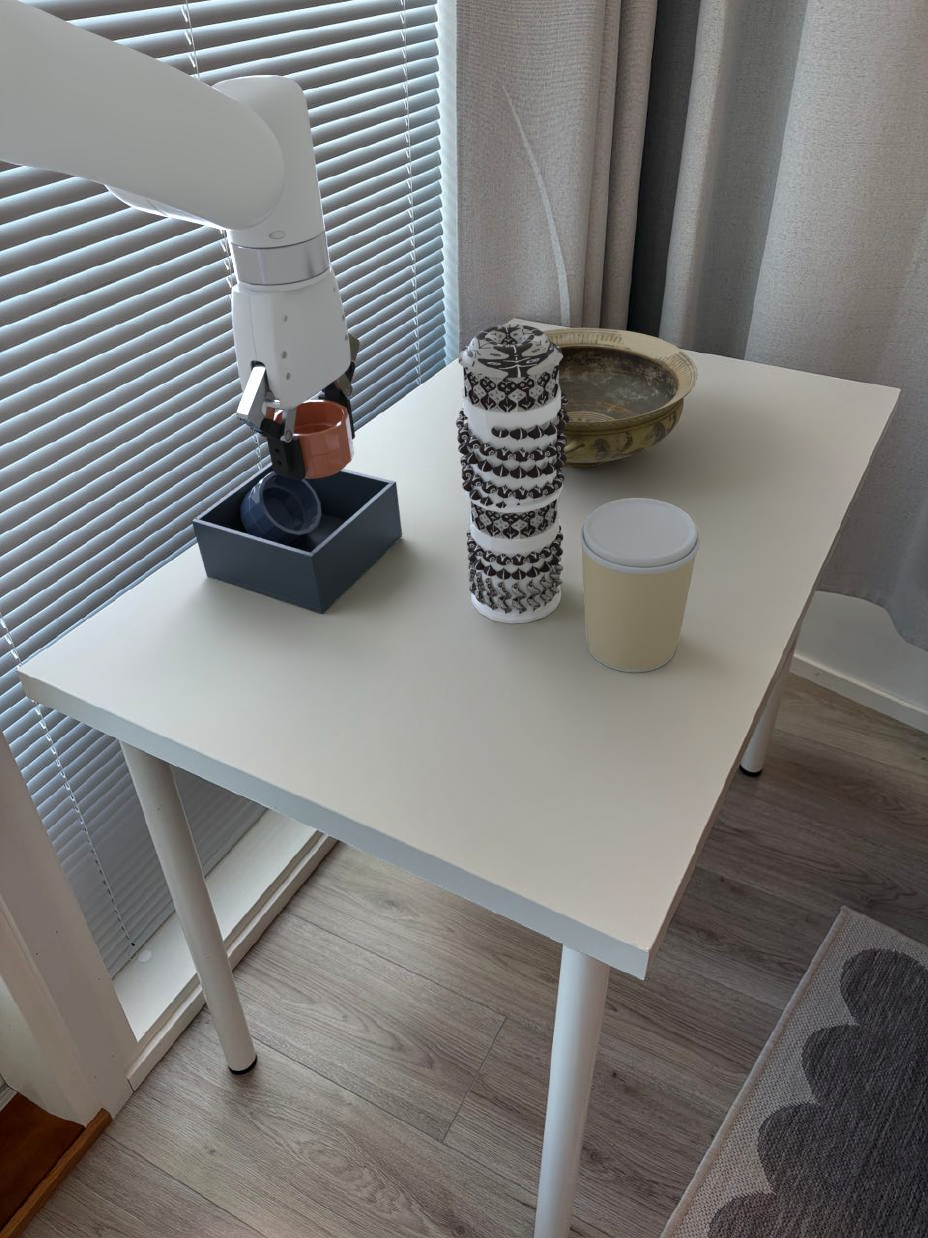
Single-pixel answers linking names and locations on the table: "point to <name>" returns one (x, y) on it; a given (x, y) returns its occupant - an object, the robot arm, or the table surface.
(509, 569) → the decorative candle
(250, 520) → the faceted blue pot
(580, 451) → the ceramic bowl
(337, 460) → the terracotta flower pot
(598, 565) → the coffee cup
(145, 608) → the table surface
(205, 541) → the tub
